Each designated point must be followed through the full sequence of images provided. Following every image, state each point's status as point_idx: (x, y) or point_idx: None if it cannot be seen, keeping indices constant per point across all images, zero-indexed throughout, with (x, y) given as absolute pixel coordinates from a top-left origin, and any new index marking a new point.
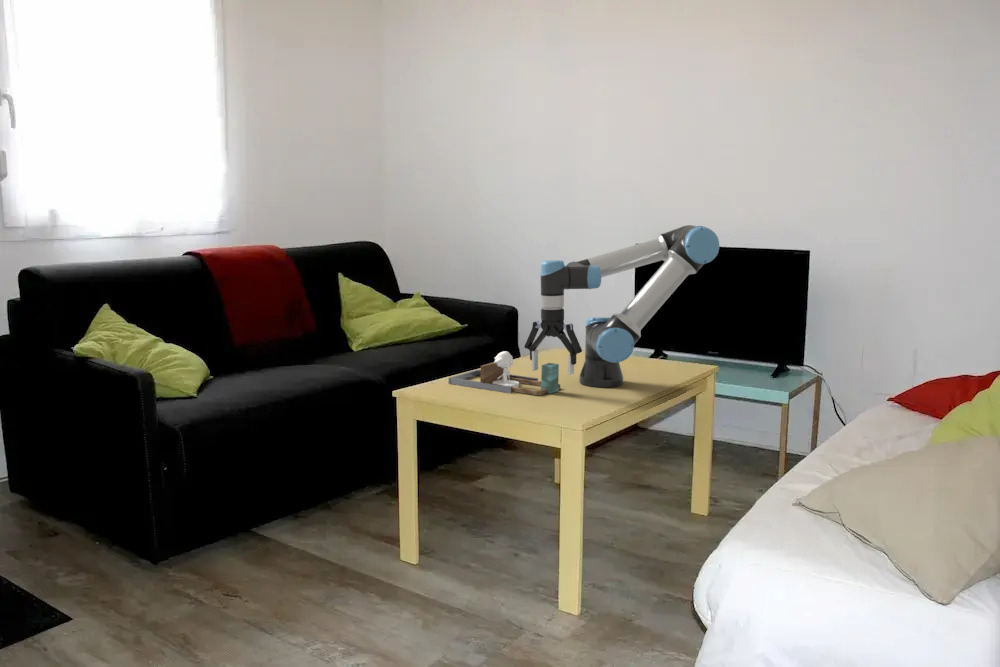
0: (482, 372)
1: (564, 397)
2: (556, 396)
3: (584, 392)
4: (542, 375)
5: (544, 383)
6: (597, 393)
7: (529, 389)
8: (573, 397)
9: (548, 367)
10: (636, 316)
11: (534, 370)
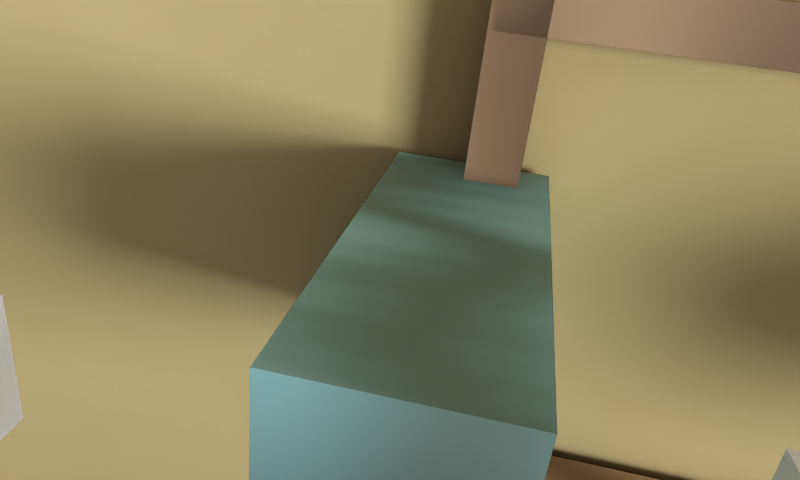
0: None
1: (187, 76)
2: (293, 81)
3: (143, 382)
4: (527, 286)
5: (487, 213)
6: (32, 385)
7: (712, 45)
8: (107, 127)
9: (341, 361)
10: None
11: (781, 469)
